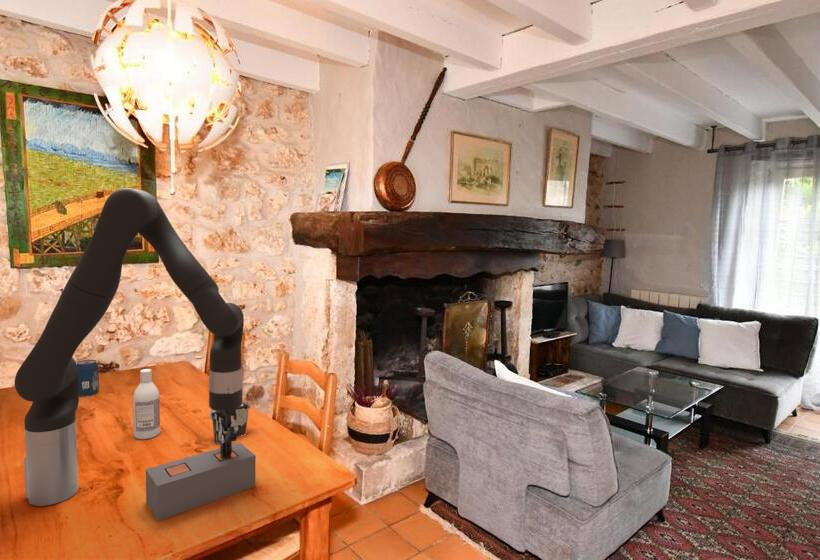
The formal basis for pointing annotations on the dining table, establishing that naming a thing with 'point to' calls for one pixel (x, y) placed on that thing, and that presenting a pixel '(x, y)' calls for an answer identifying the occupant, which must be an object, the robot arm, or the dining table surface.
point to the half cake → (241, 420)
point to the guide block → (198, 481)
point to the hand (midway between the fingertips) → (226, 455)
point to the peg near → (177, 470)
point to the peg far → (225, 457)
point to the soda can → (88, 377)
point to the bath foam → (146, 407)
